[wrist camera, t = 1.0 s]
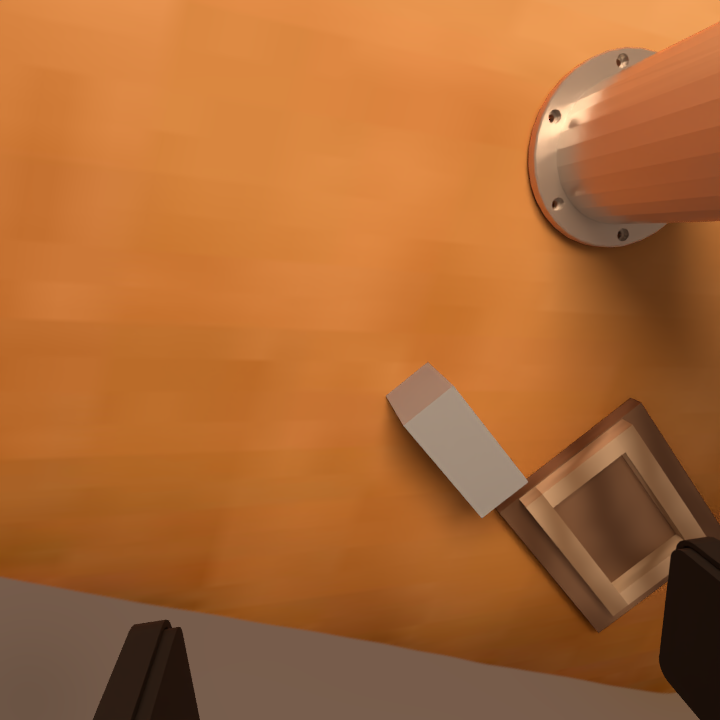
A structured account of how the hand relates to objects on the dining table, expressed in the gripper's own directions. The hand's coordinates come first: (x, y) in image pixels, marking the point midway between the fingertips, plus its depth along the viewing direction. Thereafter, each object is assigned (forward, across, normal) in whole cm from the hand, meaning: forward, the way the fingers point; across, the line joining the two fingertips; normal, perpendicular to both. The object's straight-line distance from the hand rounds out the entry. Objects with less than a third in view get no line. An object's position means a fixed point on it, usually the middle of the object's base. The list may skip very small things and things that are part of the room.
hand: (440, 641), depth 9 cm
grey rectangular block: (+27, -8, +7) cm, 29 cm away
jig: (+27, -22, +18) cm, 39 cm away
